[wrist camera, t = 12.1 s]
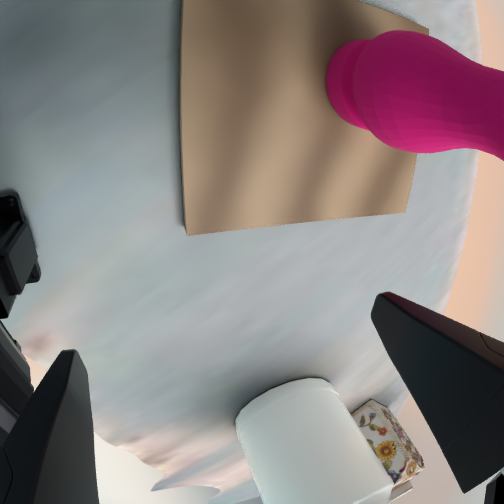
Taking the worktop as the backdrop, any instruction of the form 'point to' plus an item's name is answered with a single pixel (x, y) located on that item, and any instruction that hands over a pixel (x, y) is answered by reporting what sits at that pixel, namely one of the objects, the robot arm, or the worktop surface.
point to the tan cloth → (278, 117)
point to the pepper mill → (418, 94)
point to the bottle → (309, 448)
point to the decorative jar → (389, 445)
